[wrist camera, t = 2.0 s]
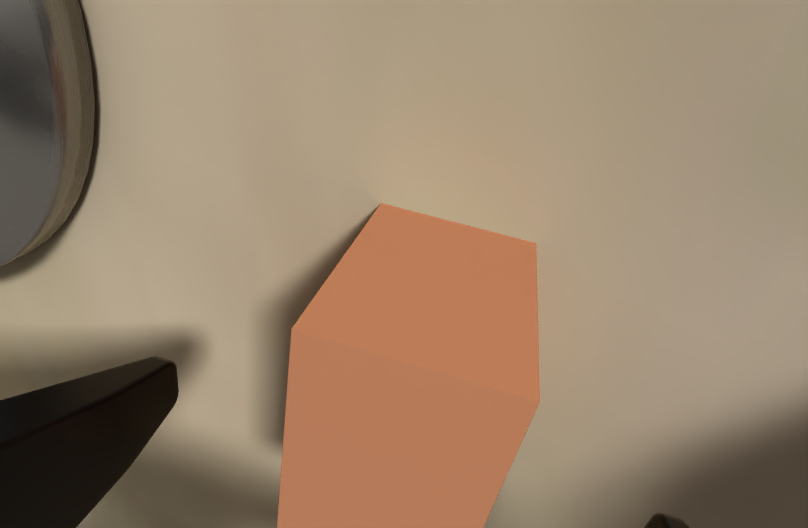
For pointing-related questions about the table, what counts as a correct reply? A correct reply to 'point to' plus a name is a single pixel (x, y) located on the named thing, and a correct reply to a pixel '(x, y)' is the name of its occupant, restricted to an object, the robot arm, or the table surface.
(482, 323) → the link block
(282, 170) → the table surface
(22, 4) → the metal plate with post
